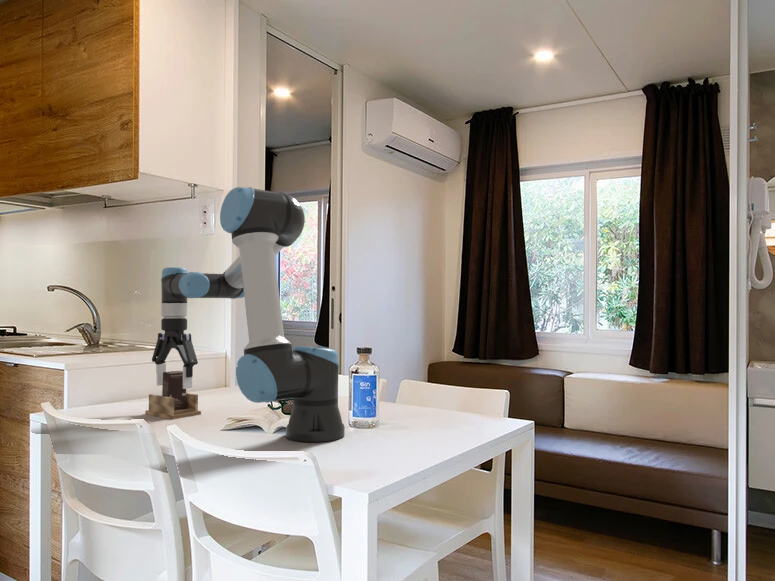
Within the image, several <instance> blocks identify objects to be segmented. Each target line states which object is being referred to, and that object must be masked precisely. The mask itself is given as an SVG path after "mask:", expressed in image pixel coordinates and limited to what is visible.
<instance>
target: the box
mask: <svg viewBox="0 0 775 581" xmlns="http://www.w3.org/2000/svg"><path fill="white" fill-rule="evenodd" d="M186 393H187V389H183V370H174V371H173V370H172V371H171V370H170V371H166V372H163V385H162V392H161V396H165V397H171V398H174V411H177V410H183V409H185V408H186Z"/></svg>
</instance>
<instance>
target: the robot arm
mask: <svg viewBox="0 0 775 581" xmlns="http://www.w3.org/2000/svg"><path fill="white" fill-rule="evenodd" d="M305 216H306V215H305V212H304V209H303V207H302V205H301V203H300V202H299V201H298V200H297V199H296V198H295V197H294V196H292V195H290V194H288V193H283V192H275V191H270V190H265V189H257V188H253V187H251V186H250V187H244V186H243V187H242V186H237V187H234V188H232V189H230V190H229V191H228V193H227V194H226V196H225V197H224V200H223V202H222V204H221V207H220V212H219V222H220V227H221V228H222V229H223V231H224V232H226V233H228V234H231V241H232V242H231V243H232V244H233V245H234V246H235V247H237V248H238V251H239V255H238V257H237V258H236V259H235V260H234V261H233V262H232V263H231V264H230V266H228V268H227V269H226V270H225V271H224V272H223V273H207V272H205V273H204V272H198V271H189V272H188V269H187V268H185V267H176V266H175V267H174V266H173V267H172V266H171V267H164V268H163V269H162V270H161V278H160V282H161V305H160V306H161V308H160V309H161V312H160V313H161V314H160V316H161V317H162V318H161V320H160V322H161V326H160V329H161V331H162V332H158V333H157V341H156V343H155V346H154V347H155V348H154V351H153V354H152V358H151V362H152V363H155V365H156V386H163V372H167V365H166V360H167V358H168V356H169V354H170V353H171V350H172V349H175V350H177V352H178V355H179V357H180V359H181V361H182V362H183V365H182V366H183V367H182V371H183V389H186V390H188V389H192V388H193V375H194V373H193V370H194V369H193V368H194V366H195V365H198V364H199V363H198V359H197V355H196V351H195V348H194V344H193V341H192V334H191V333H185V331H186V330H188V319H187V316H188V299H231V300H232V299H233V300H235V299H236V300H237V299H242V298H244V305H245V306H244V307H245V315H246V324H247V325H246V326H247V335H248V343H247V344H246V345H245V347H244V348H243V355H242V356H241V357H240V358H239V359H238V361H237V362H236V365H237V366H236V368H235V376H236V382H237V383H236V384H237V385H238V388H239V390H240V392H241V394H242V395H243V396H244V397H245V399H247V400H248V401H250V402H251V403H256V404H257V403H259V404H260V403H266V404H267V403H268V404H269V403H273V402H279V401H285V400H292V399H293V400H292V409H291V412H290V414H289V415H290V416H289V420H288V424H287V425H286V428H285V437H286V439H289V440H291V441H296V442H302V443H303V442H304V443H318V442H319V443H320V442H321V443H322V442H331V441H335V440H340V439H342V438H343V437H344V436H345V428H346V427H345V424H344V423H343V420H342V419H343V418H342V415H341V411H340V408H339V368H340V364H339V354H338V352H337V351H336V350H335V349H334V348H333V349H332V348H323V347H315V346H314V347H313V346H312V347H311V346H302V345H295V346H293V347H292V343H291V341H289V340H288V339H287V338H285V333H284V331H285V330H284V322H283V315H282V314H283V313H282V308H281V299H280V288H279V282H278V272H277V264H276V256H277V255H278V254H279V253H280V252H281V250H283V249H284V248H289V247H290V246H292V245H293V244H294V243H295V242H296V241H297V240H298V239H299V237H300V236H301V234H302V232H303V230H304V227H305V223H306V217H305ZM163 331H164V332H163Z"/></svg>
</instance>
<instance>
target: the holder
mask: <svg viewBox="0 0 775 581" xmlns="http://www.w3.org/2000/svg"><path fill="white" fill-rule="evenodd" d="M198 408H199V394H197V393H191V392H190V393H189V392H186V408H185V409H183V410H177V411H174V398H171V397H165V396H162V395H160V394H159V395H158V394H153V393H151V394H148V409H147V410H145V415H149V416H155V417H159V418H164V419H169V420H176V419H177V420H178V419H182V418H188V417H193V416H199V415H200V416H201V415H202V410H199V409H198Z"/></svg>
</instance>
